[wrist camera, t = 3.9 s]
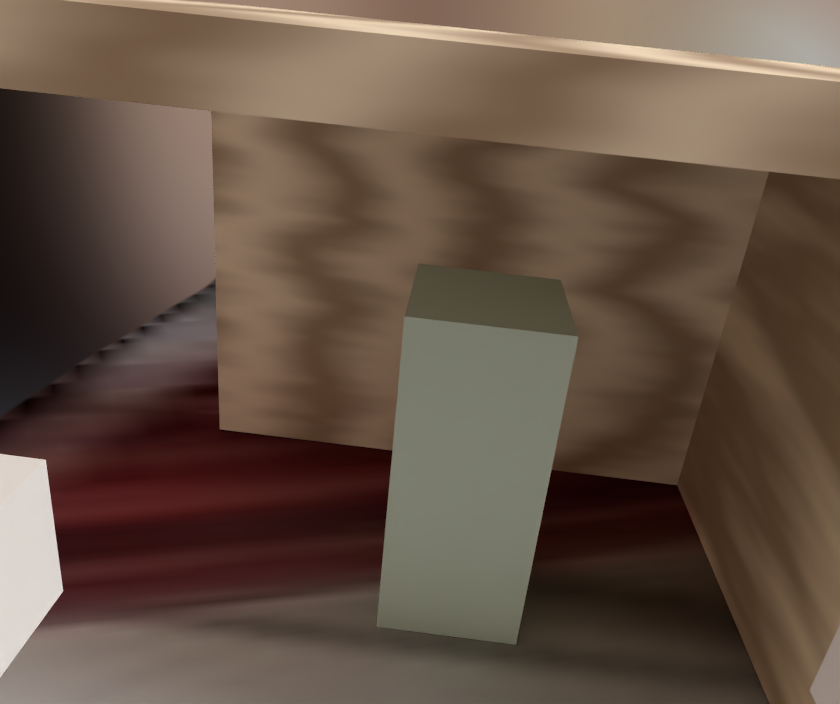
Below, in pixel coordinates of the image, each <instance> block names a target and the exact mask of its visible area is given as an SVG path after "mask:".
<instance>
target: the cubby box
mask: <svg viewBox="0 0 840 704" xmlns="http://www.w3.org/2000/svg"><path fill="white" fill-rule="evenodd" d="M0 88H5V89H14V90H23V91H33V92H43V93H51V94H61V95H70V96H79V97H88V98H97V99H107V100H115V101H125V102H134V103H143V104H152V105H161V106H172V107H181V108H189V109H198V110H208V111H211V113H212V114H211V115H212V153H213V190H214V231H215V265H216V266H215V270H216V309H217V347H218V385H219V424H220V429H221V430H229V431H237V432H245V433H253V434H261V435H270V436H278V437H286V438H294V439H302V440H311V441H319V442H327V443H335V444H343V445H352V446H360V447H368V448H376V449H384V450H393V439H394V428H395V417H396V406H397V395H398V384H399V373H400V362H401V351H402V340H403V329H404V318H405V313H406V309H407V306H408V302H409V298H410V294H411V290H412V286H413V282H414V278H415V275H416V271H417V267H418V264H426V265H435V266H444V267H453V268H461V269H470V270H479V271H488V272H497V273H505V274H514V275H523V276H532V277H541V278H549V279H558V280H561V282H562V285H563V288H564V291H565V294H566V298H567V301H568V304H569V307H570V311H571V314H572V317H573V320H574V324H575V327H576V330H577V333H578V341H577V346H576V351H575V356H574V361H573V366H572V371H571V376H570V381H569V386H568V391H567V396H566V401H565V406H564V410H563V415H562V420H561V425H560V430H559V435H558V440H557V445H556V450H555V455H554V460H553V465H552V470H556V471H565V472H573V473H581V474H589V475H597V476H606V477H614V478H622V479H630V480H638V481H647V482H655V483H663V484H671V485H677V486H678V489H679V491H680V493H681V496H682V498H683V500H684V503H685V505H686V508H687V510H688V512H689V515H690V517H691V519H692V522H693V524H694V527H695V529H696V531H697V534H698V536H699V538H700V541H701V543H702V545H703V548H704V550H705V553H706V555H707V557H708V560H709V562H710V564H711V567H712V569H713V572H714V574H715V576H716V579H717V581H718V583H719V586H720V588H721V590H722V593H723V595H724V598H725V600H726V602H727V605H728V607H729V609H730V612H731V614H732V617H733V619H734V621H735V624H736V626H737V628H738V631H739V633H740V635H741V638H742V640H743V643H744V645H745V647H746V650H747V652H748V654H749V657H750V659H751V662H752V664H753V666H754V669H755V671H756V673H757V676H758V678H759V680H760V683H761V685H762V688H763V690H764V692H765V695H766V697H767V699H768V702H769V704H816V702H815V700H814V698H813V696H812V694H811V692H810V688H811V686H812V684H813V682H814V679H815V677H816V675H817V673H818V671H819V669H820V666H821V664H822V662H823V660H824V658H825V656H826V653H827V651H828V649H829V647H830V645H831V643H832V640H833V638H834V636H835V634H836V632H837V630H838V627H839V625H840V68H836V67H829V66H820V65H811V64H801V63H792V62H781V61H773V60H763V59H753V58H744V57H733V56H725V55H715V54H705V53H696V52H686V51H675V50H667V49H657V48H647V47H638V46H629V45H618V44H609V43H600V42H590V41H581V40H571V39H561V38H552V37H542V36H533V35H523V34H513V33H504V32H494V31H484V30H475V29H465V28H455V27H446V26H436V25H426V24H416V23H408V22H398V21H388V20H379V19H369V18H359V17H350V16H340V15H331V14H330V15H329V14H321V13H312V12H302V11H291V10H282V9H273V8H263V7H254V6H244V5H234V4H225V3H212V2H198V1H183V0H0Z"/></svg>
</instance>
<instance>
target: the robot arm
mask: <svg viewBox="0 0 840 704" xmlns="http://www.w3.org/2000/svg"><path fill="white" fill-rule="evenodd" d="M62 592H63V586H62V579H61V571H60V564H59V556H58V549H57V541H56V533H55V526H54V518H53V511H52V503H51V496H50V488H49V481H48V473H47V466H46V460H44V459H36V458H28V457H20V456H13V455H5V454H0V677H1V676H2V675H3V673H4V672H5V670H6V669H7V668H8V666H9V665H10V664H11V662H12V661H13V659H14V658H15V657H16V655H17V654H18V653H19V651H20V650H21V648H22V647H23V646H24V644H25V643H26V642H27V640H28V639H29V637H30V636H31V635H32V633H33V632H34V631H35V629H36V628H37V626H38V625H39V624H40V622H41V621H42V620H43V618H44V617H45V615H46V614H47V613H48V611H49V610H50V609H51V607H52V606H53V604H54V603H55V602H56V600H57V599H58V598H59V596H60V595H61V593H62ZM810 692H811V694H812V696H813V698H814V700H815V702H816V704H840V625H839V627H838V630H837V632H836V634H835V636H834V638H833V640H832V643H831V645H830V647H829V649H828V651H827V653H826V656H825V658H824V660H823V662H822V664H821V666H820V669H819V671H818V673H817V675H816V677H815V679H814V682H813V684H812V686H811V688H810Z"/></svg>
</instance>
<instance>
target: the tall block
mask: <svg viewBox="0 0 840 704" xmlns="http://www.w3.org/2000/svg"><path fill="white" fill-rule="evenodd" d="M577 341H578V333H577V330H576V327H575V324H574V320H573V317H572V314H571V311H570V307H569V304H568V301H567V298H566V294H565V291H564V288H563V285H562V282H561V280H558V279H549V278H541V277H532V276H523V275H514V274H505V273H497V272H488V271H479V270H470V269H461V268H453V267H444V266H435V265H426V264H418V267H417V271H416V275H415V278H414V282H413V286H412V290H411V294H410V298H409V302H408V306H407V309H406V313H405V318H404V329H403V340H402V351H401V362H400V373H399V384H398V395H397V406H396V417H395V428H394V439H393V450H392V461H391V472H390V483H389V494H388V505H387V516H386V527H385V538H384V549H383V560H382V571H381V581H380V592H379V603H378V614H377V625H376V627H382V628H390V629H397V630H405V631H413V632H421V633H428V634H436V635H444V636H452V637H459V638H467V639H475V640H483V641H490V642H498V643H506V644H514V645H516V642H517V637H518V632H519V627H520V622H521V618H522V613H523V608H524V603H525V598H526V593H527V588H528V583H529V578H530V573H531V568H532V563H533V558H534V553H535V549H536V544H537V539H538V534H539V529H540V524H541V519H542V514H543V509H544V504H545V499H546V494H547V489H548V484H549V479H550V475H551V470H552V465H553V460H554V455H555V450H556V445H557V440H558V435H559V430H560V425H561V420H562V415H563V410H564V406H565V401H566V396H567V391H568V386H569V381H570V376H571V371H572V366H573V361H574V356H575V351H576V346H577Z"/></svg>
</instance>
